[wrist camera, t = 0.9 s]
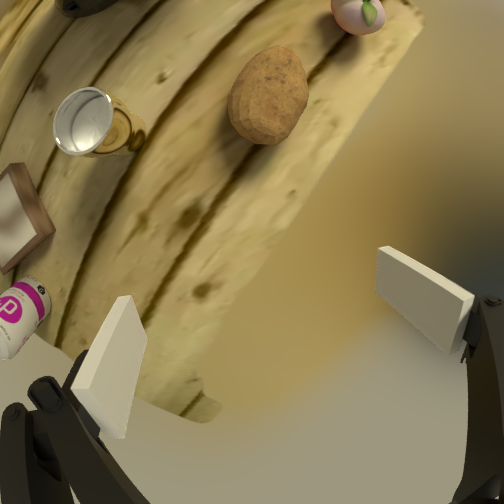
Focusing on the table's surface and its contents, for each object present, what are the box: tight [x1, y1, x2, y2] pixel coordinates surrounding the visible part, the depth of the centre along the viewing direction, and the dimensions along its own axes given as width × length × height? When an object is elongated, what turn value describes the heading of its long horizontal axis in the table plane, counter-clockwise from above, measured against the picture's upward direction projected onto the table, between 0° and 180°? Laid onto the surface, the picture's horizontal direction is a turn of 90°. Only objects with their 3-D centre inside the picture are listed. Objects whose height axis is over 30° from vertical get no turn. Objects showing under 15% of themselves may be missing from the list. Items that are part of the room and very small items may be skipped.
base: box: [0, 162, 56, 275], centre depth 31 cm, size 13×13×4 cm
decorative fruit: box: [331, 0, 385, 35], centre depth 27 cm, size 9×8×10 cm
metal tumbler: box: [53, 87, 146, 158], centre depth 26 cm, size 7×7×15 cm
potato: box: [228, 46, 309, 145], centre depth 31 cm, size 10×14×8 cm
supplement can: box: [0, 276, 51, 361], centre depth 30 cm, size 8×8×15 cm
